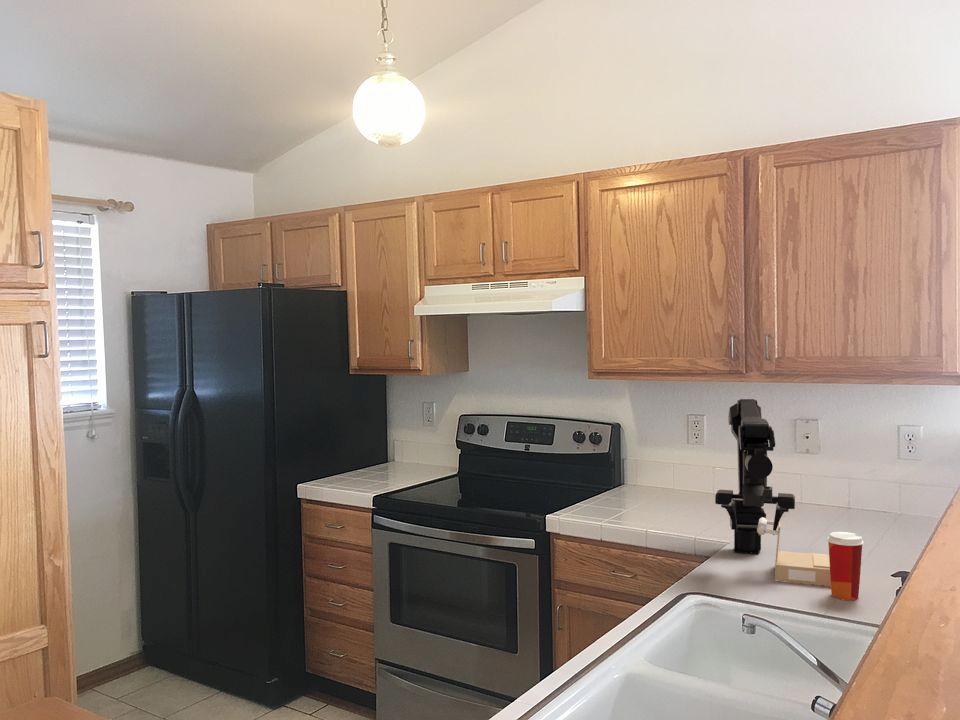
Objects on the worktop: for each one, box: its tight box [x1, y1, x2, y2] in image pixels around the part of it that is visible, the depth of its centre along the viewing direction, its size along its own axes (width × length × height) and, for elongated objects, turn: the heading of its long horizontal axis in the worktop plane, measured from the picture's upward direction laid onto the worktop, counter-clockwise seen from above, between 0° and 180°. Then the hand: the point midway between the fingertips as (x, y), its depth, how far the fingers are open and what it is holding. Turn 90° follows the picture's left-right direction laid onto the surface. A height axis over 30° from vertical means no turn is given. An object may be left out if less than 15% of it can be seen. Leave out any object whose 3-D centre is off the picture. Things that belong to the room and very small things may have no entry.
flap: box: [757, 517, 782, 562], centre depth 204 cm, size 8×11×5 cm
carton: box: [774, 550, 831, 587], centre depth 200 cm, size 16×13×4 cm
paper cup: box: [826, 531, 865, 601], centre depth 186 cm, size 8×8×14 cm
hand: (754, 533), depth 205 cm, fingers open, 9 cm apart
